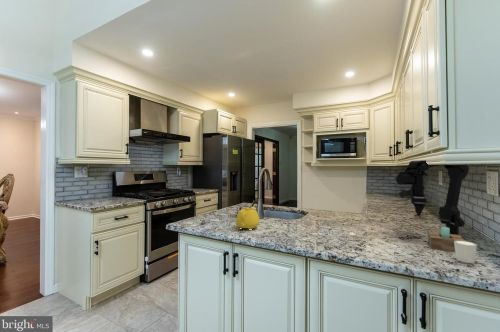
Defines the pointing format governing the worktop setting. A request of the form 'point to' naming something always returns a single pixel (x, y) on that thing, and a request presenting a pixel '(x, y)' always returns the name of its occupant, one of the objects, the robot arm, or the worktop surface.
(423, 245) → the worktop surface
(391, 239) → the worktop surface
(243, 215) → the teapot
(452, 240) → the socket block
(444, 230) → the peg
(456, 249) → the white cup
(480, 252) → the worktop surface
